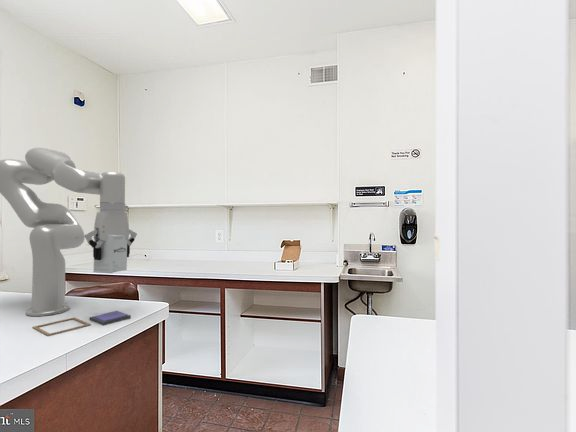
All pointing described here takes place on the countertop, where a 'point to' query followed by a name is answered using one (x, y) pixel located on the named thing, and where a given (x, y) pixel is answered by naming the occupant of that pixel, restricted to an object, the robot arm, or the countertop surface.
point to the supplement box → (112, 255)
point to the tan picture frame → (62, 330)
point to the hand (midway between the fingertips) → (112, 258)
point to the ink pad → (110, 317)
